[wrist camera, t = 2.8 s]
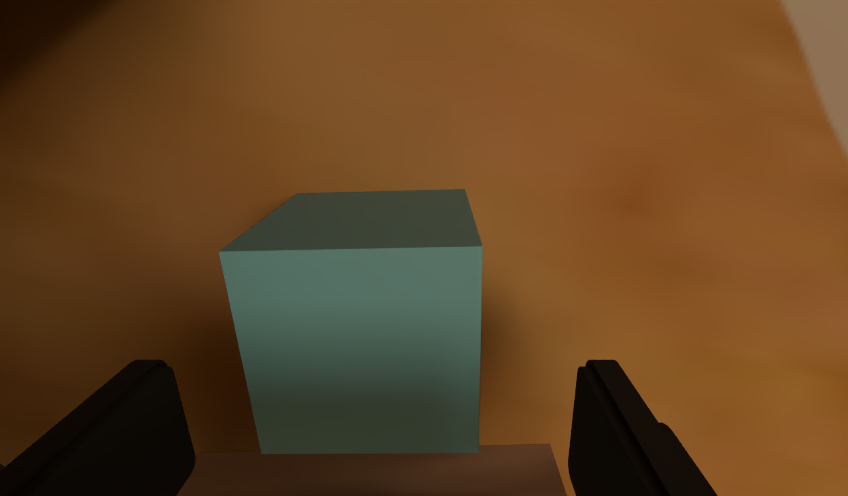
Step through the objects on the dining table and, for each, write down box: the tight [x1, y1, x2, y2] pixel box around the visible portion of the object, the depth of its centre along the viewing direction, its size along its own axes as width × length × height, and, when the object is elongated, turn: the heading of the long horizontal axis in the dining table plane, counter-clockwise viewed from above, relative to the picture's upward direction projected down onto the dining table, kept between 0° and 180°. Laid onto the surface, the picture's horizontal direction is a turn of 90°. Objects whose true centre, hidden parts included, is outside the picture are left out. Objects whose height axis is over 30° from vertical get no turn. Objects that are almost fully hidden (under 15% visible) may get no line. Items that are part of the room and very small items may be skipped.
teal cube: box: [219, 189, 482, 454], centre depth 13 cm, size 6×6×6 cm
